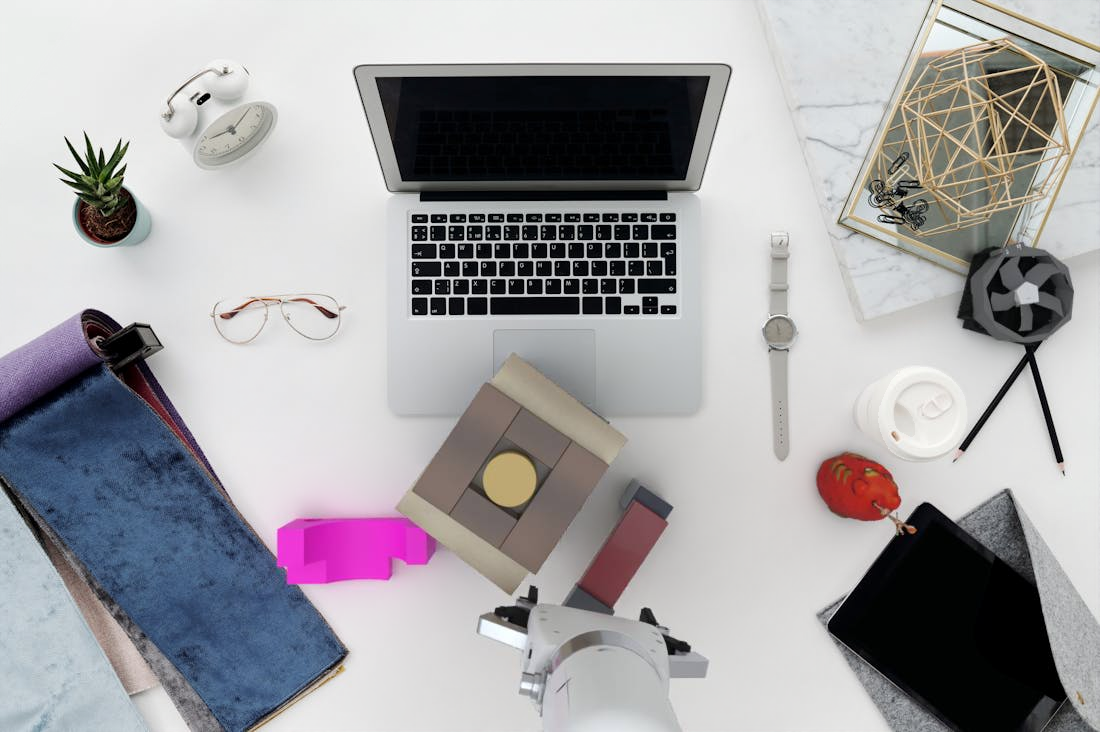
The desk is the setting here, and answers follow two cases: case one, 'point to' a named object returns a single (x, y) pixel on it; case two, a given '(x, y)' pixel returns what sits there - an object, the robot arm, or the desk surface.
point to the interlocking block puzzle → (547, 439)
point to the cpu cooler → (1017, 294)
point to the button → (510, 478)
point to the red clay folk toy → (859, 489)
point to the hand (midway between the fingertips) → (586, 614)
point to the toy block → (349, 548)
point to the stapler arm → (617, 560)
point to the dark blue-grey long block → (645, 499)
